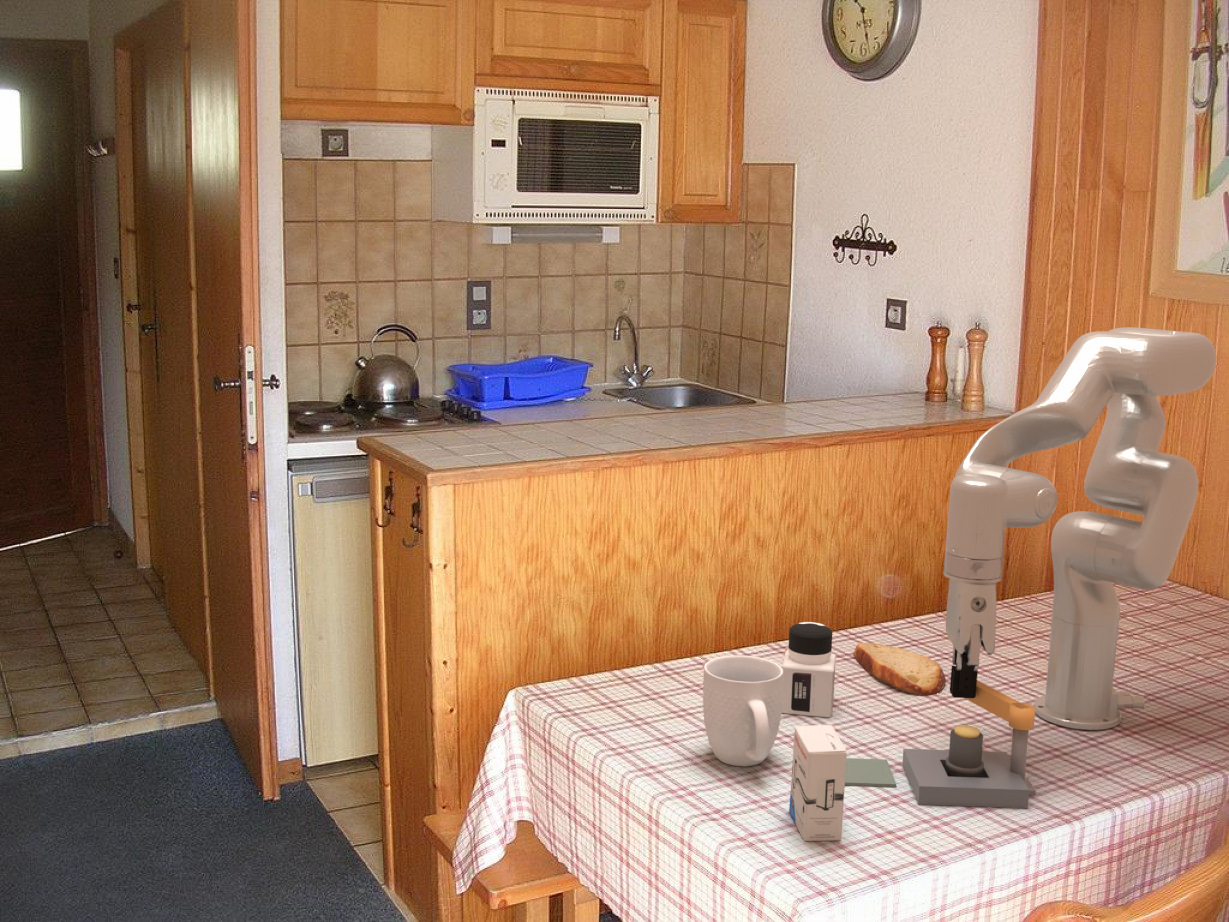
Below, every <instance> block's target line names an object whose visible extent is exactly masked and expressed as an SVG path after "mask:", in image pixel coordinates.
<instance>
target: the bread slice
mask: <svg viewBox="0 0 1229 922" xmlns="http://www.w3.org/2000/svg"><path fill="white" fill-rule="evenodd" d="M852 656H853V657H854V659H855V660H856V661H855V662H857V663H858V664H859V665H860V666H862V667H863V668H864V670H866V672H868V673H869V674H870V675H871V676H872V677H874V678H876V679H877V680H878V681H879V682H882V683H885V684H886V685H887V686H889V687H891V688H893V689H896V690H898V691H900V692H903V693H905V694H909V695H913V696H914V695H915V696H917V697H918V696H919V697H929V696H933V695H937V693H938V694H941V693H942V690H943V687H944V686H945V685H946V682H947V678H946V676H945V673H944V670H943V668H942V667H941V665H940V664H939V663H938V662H937V661H935V660H933V659H931V658H930V657H928V656H926V655H924V654H923V655H922V654H919V653H915V652H913V651H909V650H906V649H903V648H901V647H893V646H890V645H885V644H881V643H869V642H859V643H857V645H856V646H855V648H854V651H853V653H852Z"/></svg>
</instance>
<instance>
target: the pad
mask: <svg viewBox="0 0 1229 922" xmlns="http://www.w3.org/2000/svg"><path fill="white" fill-rule="evenodd" d="M888 761H889V760H888V759H883V758H881V759H880V758H852V757H851V758H850V757H846V772H845V786H853V787H855V786H857V787H880V788H881V787H887V788H888V787H889V788H897V782H896V779H895V777H894V774H893V772H892V768H891V767H890V764H889V762H888Z"/></svg>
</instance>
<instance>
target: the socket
mask: <svg viewBox="0 0 1229 922" xmlns="http://www.w3.org/2000/svg"><path fill="white" fill-rule="evenodd" d="M1029 731H1030V730H1018V729H1014V728H1012V734H1011V746H1010V747H1011V748H1010V749H1011V750H1010V756H1009V754H1008V752H1007V751H987V750H986V751H984V750H982V761H983V763H984V769H983V771H981V773H980V778H977V777H948V767H947V766H946V758H947V757H948V756H949V749H928V748H927V749H924V748H922V749H921V748H920V749H919V748H903V752H902V768H903V771H904V773H905V774H906V775H905V776H906V778H907V780H908V783H909V785H910V787H911V790H912V792H913V795H914V797H915V800H916V802H917V805H927V806H928V805H931V806H932V805H934V806H957V807H958V806H960V807H987V808H989V807H990V808H1014V809H1029V802H1030V796H1036V793H1037V792H1036V791H1037V790H1036V789H1035V788H1034V786H1033V784H1032V783H1031V781H1030V779H1029V778H1028V777H1026V768H1027V756H1028V745H1029V744H1028V743H1029Z"/></svg>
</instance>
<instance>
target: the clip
mask: <svg viewBox="0 0 1229 922" xmlns="http://www.w3.org/2000/svg"><path fill="white" fill-rule="evenodd" d="M964 699H965V700H967V701H969V702H971V703H973V704H975V705H976V706H978V707H980V708H981V709H983V710H985V711H987V712H989V713H991V714H992V715H994V716H996V717H999V718H1000V719H1002V720H1003V721H1004V722H1005V721H1006V722H1007V723H1008V726H1009V727H1010V728H1012V729H1013V728H1014V729H1018V730H1029V731H1031V730H1033V729H1034V728H1035V717H1036V713H1035V707H1034V705H1032V704H1030V703H1027V702H1021V701H1019V700H1016V699H1015V698H1013V697H1010V696H1009V695H1007V694H1005V693H1003V692H1001V691H999V690H997V689H995V688H993V687H991V686H989V685H987V684H986V683H984V682H982V681H980V680H978V679H977V686H976V697H975V698H964Z"/></svg>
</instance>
